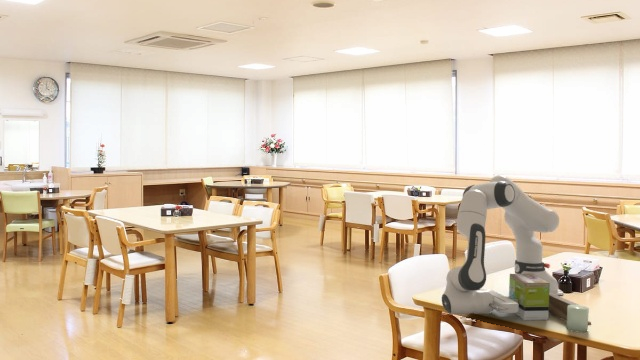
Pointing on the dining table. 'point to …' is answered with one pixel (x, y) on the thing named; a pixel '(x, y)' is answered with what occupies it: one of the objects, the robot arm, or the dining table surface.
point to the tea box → (530, 296)
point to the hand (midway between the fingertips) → (516, 300)
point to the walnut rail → (559, 306)
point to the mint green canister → (577, 318)
